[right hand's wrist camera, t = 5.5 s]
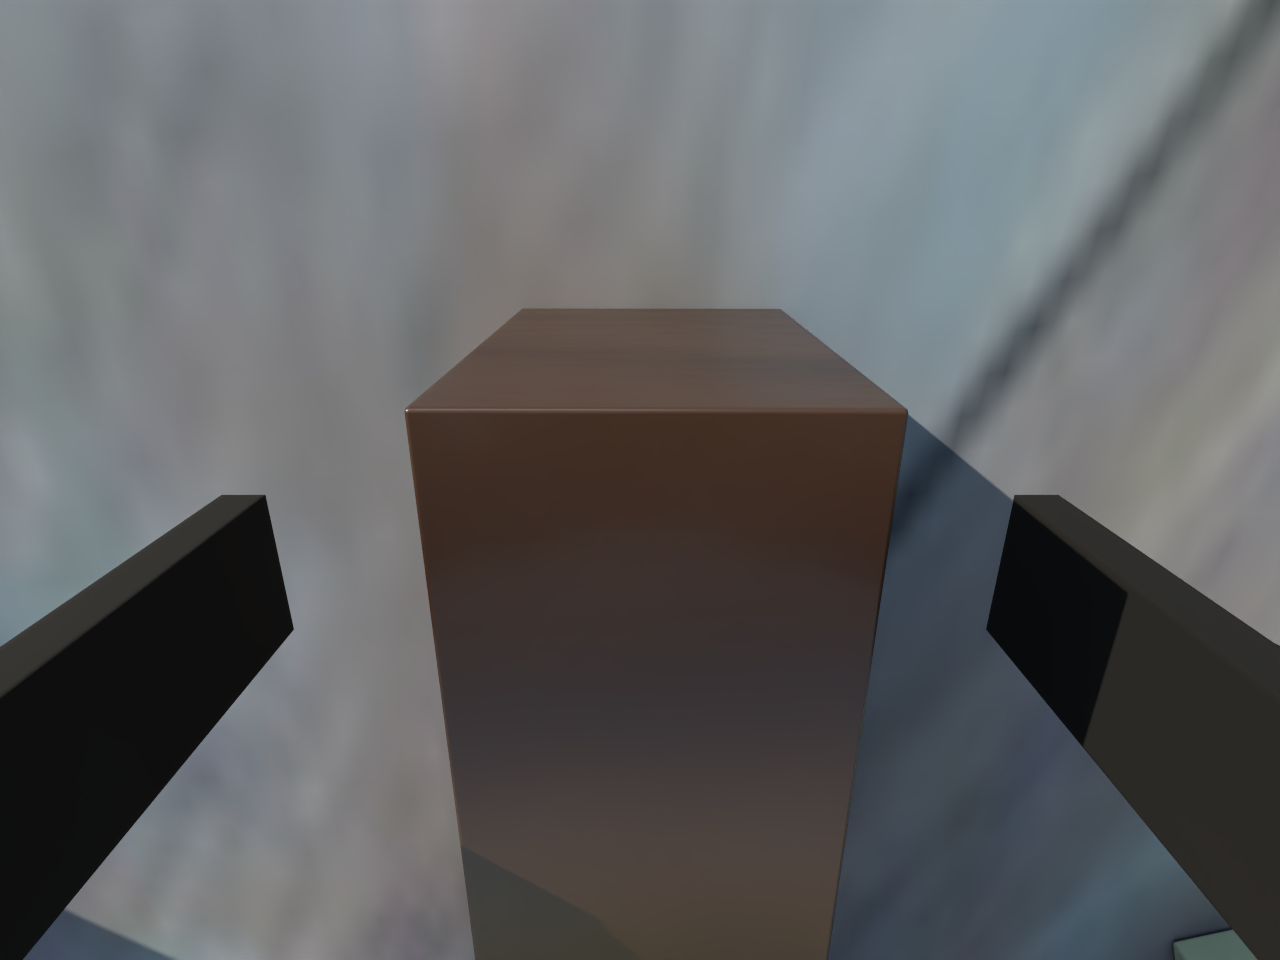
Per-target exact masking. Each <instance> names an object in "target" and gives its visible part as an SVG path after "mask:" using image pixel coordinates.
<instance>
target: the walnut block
mask: <svg viewBox="0 0 1280 960" xmlns="http://www.w3.org/2000/svg"><path fill="white" fill-rule="evenodd" d="M907 418H908V411H907V409H906V408H905V407H903V406H902V405H901V404H900V403H898V402H897V401H896V400H895V399H893V398H892V397H891V396H890V395H888V394H887V393H886V392H885V391H883V390H882V389H881V388H879V387H878V386H877V385H876V384H874V383H873V382H872V381H871V380H869V379H868V378H867V377H866V376H864V375H863V374H862V373H861V372H859V371H858V370H857V369H855V368H854V367H853V366H852V365H850V364H849V363H848V362H847V361H845V360H844V359H843V358H842V357H840V356H839V355H838V354H836V353H835V352H834V351H833V350H831V349H830V348H829V347H828V346H826V345H825V344H824V343H823V342H821V341H820V340H819V339H818V338H816V337H815V336H814V335H812V334H811V333H810V332H809V331H807V330H806V329H805V328H804V327H802V326H801V325H800V324H799V323H797V322H796V321H795V320H794V319H792V318H791V317H790V316H788V315H787V314H786V313H785V312H783V311H782V310H780V309H522V310H520V311H519V312H518V313H517V314H516V315H515V316H513V317H512V318H511V319H510V320H509V321H508V322H506V323H505V324H504V325H503V326H502V327H500V328H499V329H498V330H497V331H496V332H495V333H493V334H492V335H491V336H490V337H489V338H488V339H486V340H485V341H484V342H483V343H482V344H481V345H479V346H478V347H477V348H476V349H475V350H473V351H472V352H471V353H470V354H469V355H468V356H466V357H465V358H464V359H463V360H462V361H461V362H459V363H458V364H457V365H456V366H455V367H454V368H452V369H451V370H450V371H449V372H448V373H446V374H445V375H444V376H443V377H442V378H441V379H439V380H438V381H437V382H436V383H435V384H434V385H432V386H431V387H430V388H429V389H428V390H427V391H425V392H424V393H423V394H422V395H421V396H419V397H418V398H417V399H416V400H415V401H414V402H412V403H411V404H410V405H409V406H408V407H407V408H406V409H405V419H406V427H407V435H408V442H409V450H410V458H411V466H412V473H413V481H414V489H415V496H416V504H417V512H418V520H419V527H420V535H421V543H422V551H423V558H424V566H425V574H426V582H427V589H428V597H429V605H430V612H431V620H432V628H433V636H434V643H435V651H436V659H437V667H438V674H439V682H440V690H441V698H442V705H443V713H444V721H445V728H446V736H447V744H448V752H449V759H450V767H451V775H452V783H453V790H454V798H455V806H456V814H457V821H458V829H459V837H460V844H461V852H462V860H463V868H464V875H465V883H466V891H467V899H468V906H469V914H470V922H471V930H472V937H473V945H474V953H475V960H828V954H829V948H830V941H831V934H832V927H833V920H834V914H835V907H836V900H837V893H838V886H839V880H840V873H841V866H842V859H843V852H844V846H845V839H846V832H847V825H848V819H849V812H850V805H851V798H852V791H853V785H854V778H855V771H856V764H857V757H858V751H859V744H860V737H861V730H862V723H863V717H864V710H865V703H866V696H867V690H868V683H869V676H870V669H871V662H872V656H873V649H874V642H875V635H876V628H877V622H878V615H879V608H880V601H881V594H882V588H883V581H884V574H885V567H886V561H887V554H888V547H889V540H890V533H891V527H892V520H893V513H894V506H895V499H896V493H897V486H898V479H899V472H900V466H901V459H902V452H903V445H904V438H905V432H906V425H907Z"/></svg>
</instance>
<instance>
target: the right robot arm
mask: <svg viewBox="0 0 1280 960" xmlns="http://www.w3.org/2000/svg"><path fill="white" fill-rule="evenodd" d="M293 630H294V628H293V623H292V619H291V614H290V609H289V604H288V600H287V595H286V590H285V586H284V581H283V576H282V571H281V567H280V562H279V557H278V553H277V548H276V543H275V538H274V534H273V529H272V524H271V519H270V515H269V510H268V505H267V501H266V496H265V495H221V496H219V497H218V498H217V499H215V500H214V501H212V502H211V503H209V504H208V505H206V506H205V507H203V508H202V509H201V510H199V511H198V512H196V513H195V514H193V515H192V516H190V517H189V518H187V519H186V520H185V521H183V522H182V523H180V524H179V525H177V526H176V527H174V528H173V529H171V530H170V531H169V532H167V533H166V534H164V535H163V536H161V537H160V538H158V539H157V540H155V541H154V542H152V543H151V544H150V545H148V546H147V547H145V548H144V549H142V550H141V551H139V552H138V553H136V554H135V555H134V556H132V557H131V558H129V559H128V560H126V561H125V562H123V563H122V564H120V565H119V566H118V567H116V568H115V569H113V570H112V571H110V572H109V573H107V574H106V575H104V576H103V577H102V578H100V579H99V580H97V581H96V582H94V583H93V584H91V585H90V586H88V587H87V588H85V589H84V590H83V591H81V592H80V593H78V594H77V595H75V596H74V597H72V598H71V599H69V600H68V601H67V602H65V603H64V604H62V605H61V606H59V607H58V608H56V609H55V610H53V611H52V612H51V613H49V614H48V615H46V616H45V617H43V618H42V619H40V620H39V621H37V622H36V623H35V624H33V625H32V626H30V627H29V628H27V629H26V630H24V631H23V632H21V633H20V634H19V635H17V636H16V637H14V638H13V639H11V640H10V641H8V642H7V643H5V644H4V645H2V646H1V647H0V960H23V959H24V957H25V956H26V955H27V954H28V952H29V951H30V950H31V949H32V948H33V946H34V945H35V944H36V943H37V942H38V940H39V939H40V938H41V937H42V935H43V934H44V933H45V932H46V931H47V929H48V928H49V927H50V926H51V924H52V923H53V922H54V921H55V920H56V918H57V917H58V916H59V915H60V914H61V912H62V911H63V910H64V909H65V907H66V906H67V905H68V904H69V903H70V901H71V900H72V899H73V898H74V896H75V895H76V894H77V893H78V892H79V890H80V889H81V888H82V887H83V885H84V884H85V883H86V882H87V881H88V879H89V878H90V877H91V876H92V875H93V873H94V872H95V871H96V870H97V868H98V867H99V866H100V865H101V864H102V862H103V861H104V860H105V859H106V857H107V856H108V855H109V854H110V853H111V851H112V850H113V849H114V848H115V847H116V845H117V844H118V843H119V842H120V840H121V839H122V838H123V837H124V836H125V834H126V833H127V832H128V831H129V829H130V828H131V827H132V826H133V825H134V823H135V822H136V821H137V820H138V819H139V817H140V816H141V815H142V814H143V812H144V811H145V810H146V809H147V808H148V806H149V805H150V804H151V803H152V801H153V800H154V799H155V798H156V797H157V795H158V794H159V793H160V792H161V790H162V789H163V788H164V787H165V786H166V784H167V783H168V782H169V781H170V780H171V778H172V777H173V776H174V775H175V773H176V772H177V771H178V770H179V769H180V767H181V766H182V765H183V764H184V762H185V761H186V760H187V759H188V758H189V756H190V755H191V754H192V753H193V752H194V750H195V749H196V748H197V747H198V745H199V744H200V743H201V742H202V741H203V739H204V738H205V737H206V736H207V734H208V733H209V732H210V731H211V730H212V728H213V727H214V726H215V725H216V724H217V722H218V721H219V720H220V719H221V717H222V716H223V715H224V714H225V713H226V711H227V710H228V709H229V708H230V706H231V705H232V704H233V703H234V702H235V700H236V699H237V698H238V697H239V695H240V694H241V693H242V692H243V691H244V689H245V688H246V687H247V686H248V685H249V683H250V682H251V681H252V680H253V678H254V677H255V676H256V675H257V674H258V672H259V671H260V670H261V669H262V667H263V666H264V665H265V664H266V663H267V661H268V660H269V659H270V658H271V657H272V655H273V654H274V653H275V652H276V650H277V649H278V648H279V647H280V646H281V644H282V643H283V642H284V641H285V639H286V638H287V637H288V636H289V635H290V633H291V632H292V631H293ZM986 630H987V631H988V632H989V633H990V635H991V636H992V637H993V638H994V639H995V641H996V642H997V643H998V644H999V646H1000V647H1001V648H1002V649H1003V650H1004V652H1005V653H1006V654H1007V655H1008V657H1009V658H1010V659H1011V660H1012V661H1013V663H1014V664H1015V665H1016V666H1017V667H1018V669H1019V670H1020V671H1021V672H1022V674H1023V675H1024V676H1025V677H1026V678H1027V680H1028V681H1029V682H1030V683H1031V685H1032V686H1033V687H1034V688H1035V689H1036V691H1037V692H1038V693H1039V694H1040V696H1041V697H1042V698H1043V699H1044V700H1045V702H1046V703H1047V704H1048V705H1049V706H1050V708H1051V709H1052V710H1053V711H1054V713H1055V714H1056V715H1057V716H1058V717H1059V719H1060V720H1061V721H1062V722H1063V724H1064V725H1065V726H1066V727H1067V728H1068V730H1069V731H1070V732H1071V733H1072V734H1073V736H1074V737H1075V738H1076V739H1077V741H1078V742H1079V743H1080V744H1081V745H1082V747H1083V748H1084V749H1085V750H1086V752H1087V753H1088V754H1089V755H1090V756H1091V758H1092V759H1093V760H1094V761H1095V762H1096V764H1097V765H1098V766H1099V767H1100V769H1101V770H1102V771H1103V772H1104V773H1105V775H1106V776H1107V777H1108V778H1109V780H1110V781H1111V782H1112V783H1113V784H1114V786H1115V787H1116V788H1117V789H1118V790H1119V792H1120V793H1121V794H1122V795H1123V797H1124V798H1125V799H1126V800H1127V801H1128V803H1129V804H1130V805H1131V806H1132V808H1133V809H1134V810H1135V811H1136V812H1137V814H1138V815H1139V816H1140V817H1141V819H1142V820H1143V821H1144V822H1145V823H1146V825H1147V826H1148V827H1149V828H1150V829H1151V831H1152V832H1153V833H1154V834H1155V836H1156V837H1157V838H1158V839H1159V840H1160V842H1161V843H1162V844H1163V845H1164V847H1165V848H1166V849H1167V850H1168V851H1169V853H1170V854H1171V855H1172V856H1173V857H1174V859H1175V860H1176V861H1177V862H1178V864H1179V865H1180V866H1181V867H1182V868H1183V870H1184V871H1185V872H1186V873H1187V875H1188V876H1189V877H1190V878H1191V879H1192V881H1193V882H1194V883H1195V884H1196V885H1197V887H1198V888H1199V889H1200V890H1201V892H1202V893H1203V894H1204V895H1205V896H1206V898H1207V899H1208V900H1209V901H1210V903H1211V904H1212V905H1213V906H1214V907H1215V909H1216V910H1217V911H1218V912H1219V914H1220V915H1221V916H1222V917H1223V918H1224V920H1225V921H1226V922H1227V923H1228V924H1229V926H1230V927H1231V928H1232V929H1233V931H1234V932H1235V933H1236V934H1237V935H1238V937H1239V938H1240V939H1241V940H1242V942H1243V943H1244V944H1245V945H1246V946H1247V948H1248V949H1249V950H1250V951H1251V952H1252V954H1253V955H1254V956H1255V957H1256V959H1257V960H1280V646H1279V645H1277V644H1275V643H1273V642H1272V641H1270V640H1269V639H1267V638H1266V637H1264V636H1263V635H1261V634H1260V633H1259V632H1257V631H1256V630H1254V629H1253V628H1251V627H1250V626H1248V625H1247V624H1245V623H1244V622H1243V621H1241V620H1240V619H1238V618H1237V617H1235V616H1234V615H1232V614H1231V613H1229V612H1228V611H1227V610H1225V609H1224V608H1222V607H1221V606H1219V605H1218V604H1216V603H1215V602H1213V601H1212V600H1211V599H1209V598H1208V597H1206V596H1205V595H1203V594H1202V593H1200V592H1199V591H1197V590H1196V589H1195V588H1193V587H1192V586H1190V585H1189V584H1187V583H1186V582H1184V581H1183V580H1181V579H1180V578H1178V577H1177V576H1176V575H1174V574H1173V573H1171V572H1170V571H1168V570H1167V569H1165V568H1164V567H1162V566H1161V565H1160V564H1158V563H1157V562H1155V561H1154V560H1152V559H1151V558H1149V557H1148V556H1146V555H1145V554H1144V553H1142V552H1141V551H1139V550H1138V549H1136V548H1135V547H1133V546H1132V545H1130V544H1129V543H1128V542H1126V541H1125V540H1123V539H1122V538H1120V537H1119V536H1117V535H1116V534H1114V533H1113V532H1111V531H1110V530H1109V529H1107V528H1106V527H1104V526H1103V525H1101V524H1100V523H1098V522H1097V521H1095V520H1094V519H1093V518H1091V517H1090V516H1088V515H1087V514H1085V513H1084V512H1082V511H1081V510H1079V509H1078V508H1077V507H1075V506H1074V505H1072V504H1071V503H1069V502H1068V501H1066V500H1065V499H1063V498H1062V497H1061V496H1059V495H1015V496H1014V501H1013V505H1012V510H1011V515H1010V519H1009V524H1008V529H1007V534H1006V538H1005V543H1004V548H1003V553H1002V557H1001V562H1000V567H999V571H998V576H997V581H996V586H995V590H994V595H993V600H992V604H991V609H990V614H989V619H988V623H987V628H986Z"/></svg>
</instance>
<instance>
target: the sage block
mask: <svg viewBox="0 0 1280 960" xmlns="http://www.w3.org/2000/svg"><path fill="white" fill-rule="evenodd" d="M1173 948H1174V956H1175V960H1257V959H1256V957H1255V956H1254V955H1253V954H1252V952H1251V951H1250V950H1249V949H1248V948H1247V946H1246V945H1245V944H1244V943H1243V942H1242V940H1241V939H1240V938H1239V937H1238V935H1237V934H1236V933H1235V932H1234V931H1233V929H1232V930H1227V931H1223V932H1218V933H1214V934H1209V935H1204V936H1200V937H1195V938H1190V939H1186V940H1181V941H1177V942H1174V943H1173Z"/></svg>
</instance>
